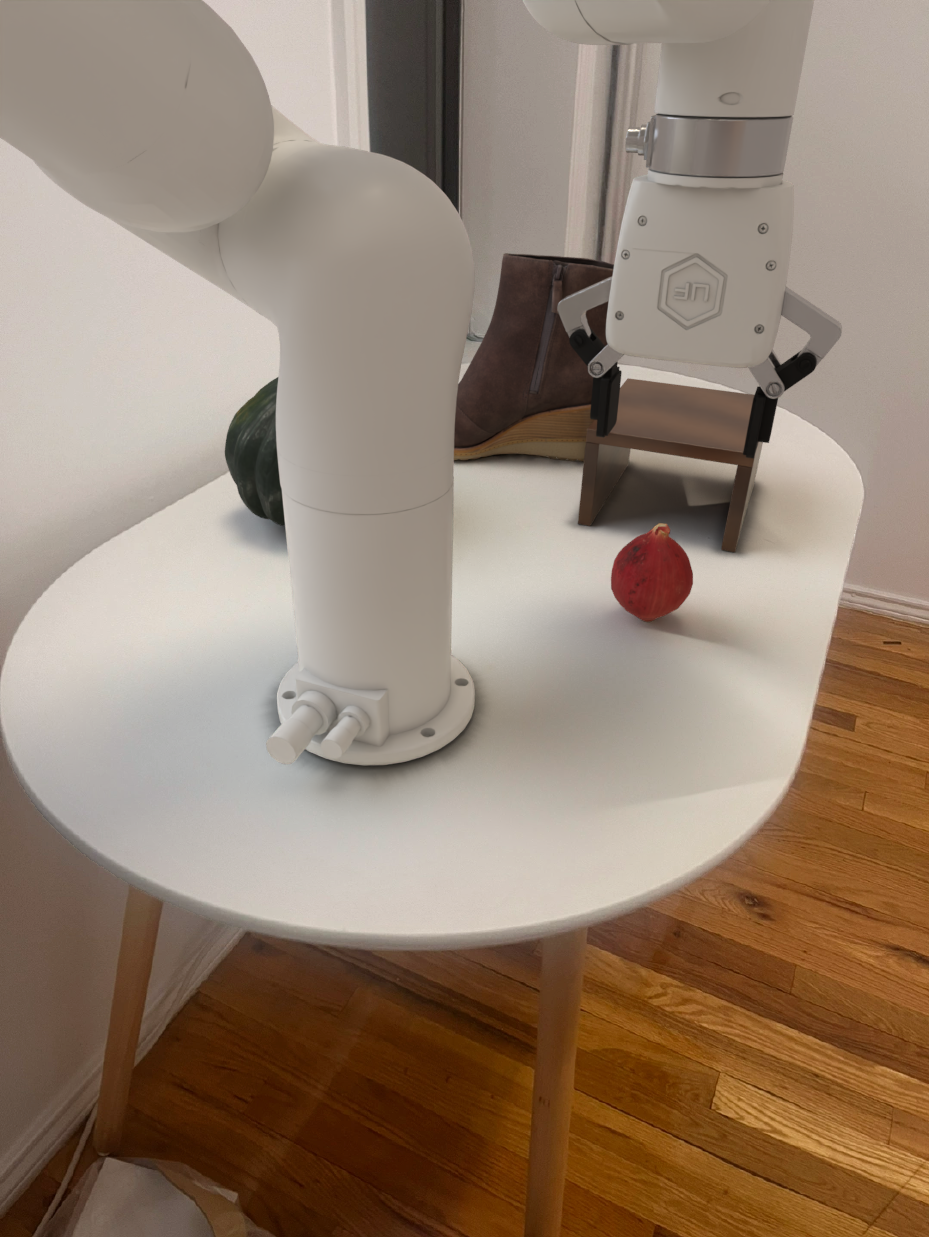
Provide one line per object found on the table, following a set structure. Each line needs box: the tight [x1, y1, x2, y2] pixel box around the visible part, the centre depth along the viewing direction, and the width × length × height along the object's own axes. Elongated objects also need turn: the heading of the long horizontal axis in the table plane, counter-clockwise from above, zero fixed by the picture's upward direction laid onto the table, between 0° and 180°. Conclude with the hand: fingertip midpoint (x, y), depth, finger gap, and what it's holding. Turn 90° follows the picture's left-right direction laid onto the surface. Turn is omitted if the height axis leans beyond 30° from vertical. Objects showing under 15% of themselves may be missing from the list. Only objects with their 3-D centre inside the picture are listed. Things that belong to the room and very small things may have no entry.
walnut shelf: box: [577, 377, 764, 553], centre depth 82 cm, size 16×14×9 cm
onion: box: [610, 522, 694, 623], centre depth 64 cm, size 6×6×8 cm
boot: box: [454, 252, 614, 462], centre depth 90 cm, size 9×24×20 cm, turn 84°
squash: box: [224, 376, 285, 527], centre depth 77 cm, size 14×15×15 cm
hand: (676, 440), depth 59 cm, fingers open, 9 cm apart
